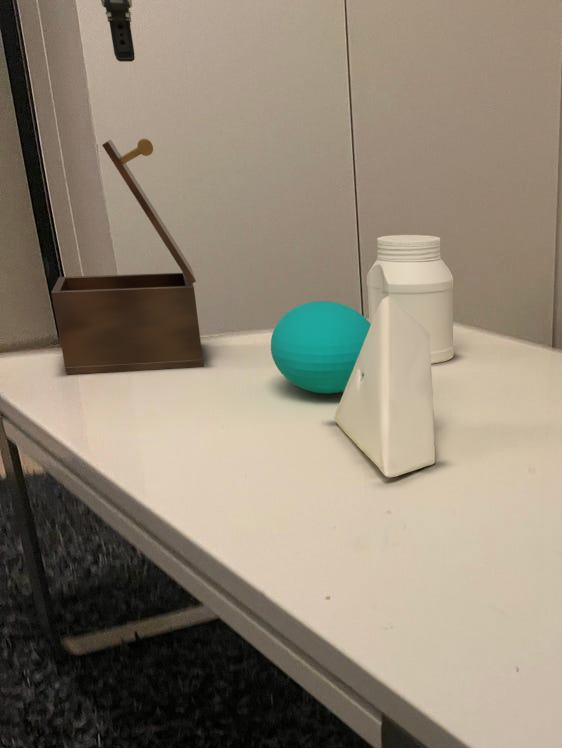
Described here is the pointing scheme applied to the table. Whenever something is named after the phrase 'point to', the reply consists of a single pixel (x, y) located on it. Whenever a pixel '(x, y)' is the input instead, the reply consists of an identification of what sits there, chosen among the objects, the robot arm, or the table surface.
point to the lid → (120, 163)
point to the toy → (319, 345)
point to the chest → (127, 322)
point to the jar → (415, 286)
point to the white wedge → (392, 394)
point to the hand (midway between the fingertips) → (125, 59)
